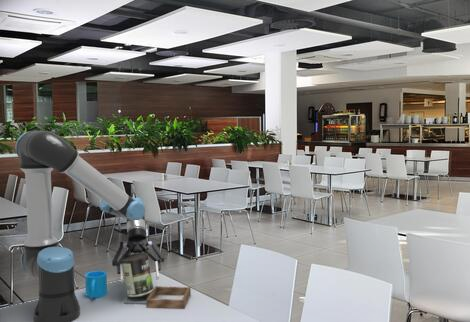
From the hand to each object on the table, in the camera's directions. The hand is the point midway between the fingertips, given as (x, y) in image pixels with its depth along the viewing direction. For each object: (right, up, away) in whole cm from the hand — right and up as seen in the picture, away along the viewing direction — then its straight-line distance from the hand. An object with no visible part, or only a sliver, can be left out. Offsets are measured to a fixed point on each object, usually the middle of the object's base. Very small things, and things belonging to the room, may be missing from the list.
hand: (139, 279), depth 174 cm
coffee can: (0, -6, +3) cm, 7 cm away
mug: (-19, -8, +5) cm, 21 cm away
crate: (+11, -8, 0) cm, 14 cm away
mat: (-1, -8, +3) cm, 8 cm away
